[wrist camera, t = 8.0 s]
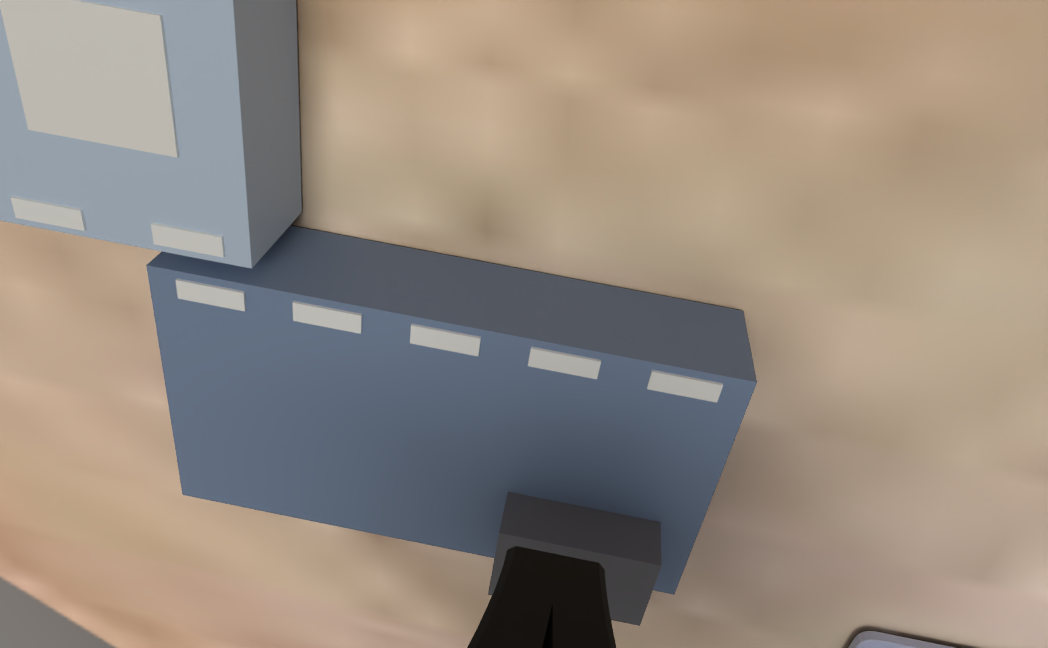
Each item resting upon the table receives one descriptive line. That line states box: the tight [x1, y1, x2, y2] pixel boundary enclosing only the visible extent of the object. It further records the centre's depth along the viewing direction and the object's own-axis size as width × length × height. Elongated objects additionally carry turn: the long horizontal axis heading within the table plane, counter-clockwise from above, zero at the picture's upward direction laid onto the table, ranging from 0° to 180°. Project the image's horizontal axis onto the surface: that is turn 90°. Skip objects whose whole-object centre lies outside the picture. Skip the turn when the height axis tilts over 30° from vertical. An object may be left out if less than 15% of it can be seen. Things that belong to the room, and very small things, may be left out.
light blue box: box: [0, 0, 302, 269], centre depth 17 cm, size 6×6×3 cm
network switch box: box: [147, 225, 757, 626], centre depth 20 cm, size 14×8×4 cm, turn 82°
